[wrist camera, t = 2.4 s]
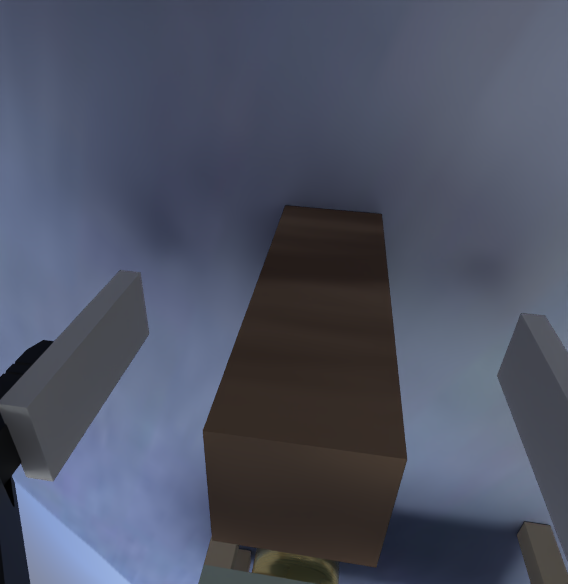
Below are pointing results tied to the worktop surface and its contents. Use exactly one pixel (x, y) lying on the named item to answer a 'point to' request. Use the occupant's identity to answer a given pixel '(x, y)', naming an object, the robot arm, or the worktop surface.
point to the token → (296, 567)
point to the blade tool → (311, 398)
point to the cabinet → (238, 580)
